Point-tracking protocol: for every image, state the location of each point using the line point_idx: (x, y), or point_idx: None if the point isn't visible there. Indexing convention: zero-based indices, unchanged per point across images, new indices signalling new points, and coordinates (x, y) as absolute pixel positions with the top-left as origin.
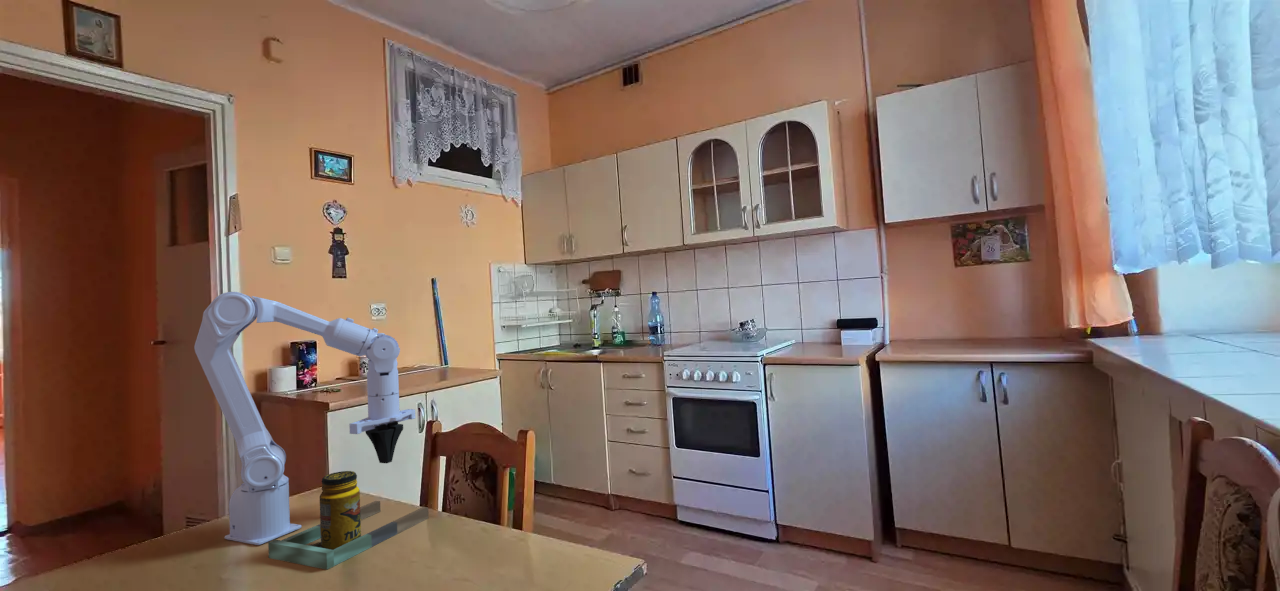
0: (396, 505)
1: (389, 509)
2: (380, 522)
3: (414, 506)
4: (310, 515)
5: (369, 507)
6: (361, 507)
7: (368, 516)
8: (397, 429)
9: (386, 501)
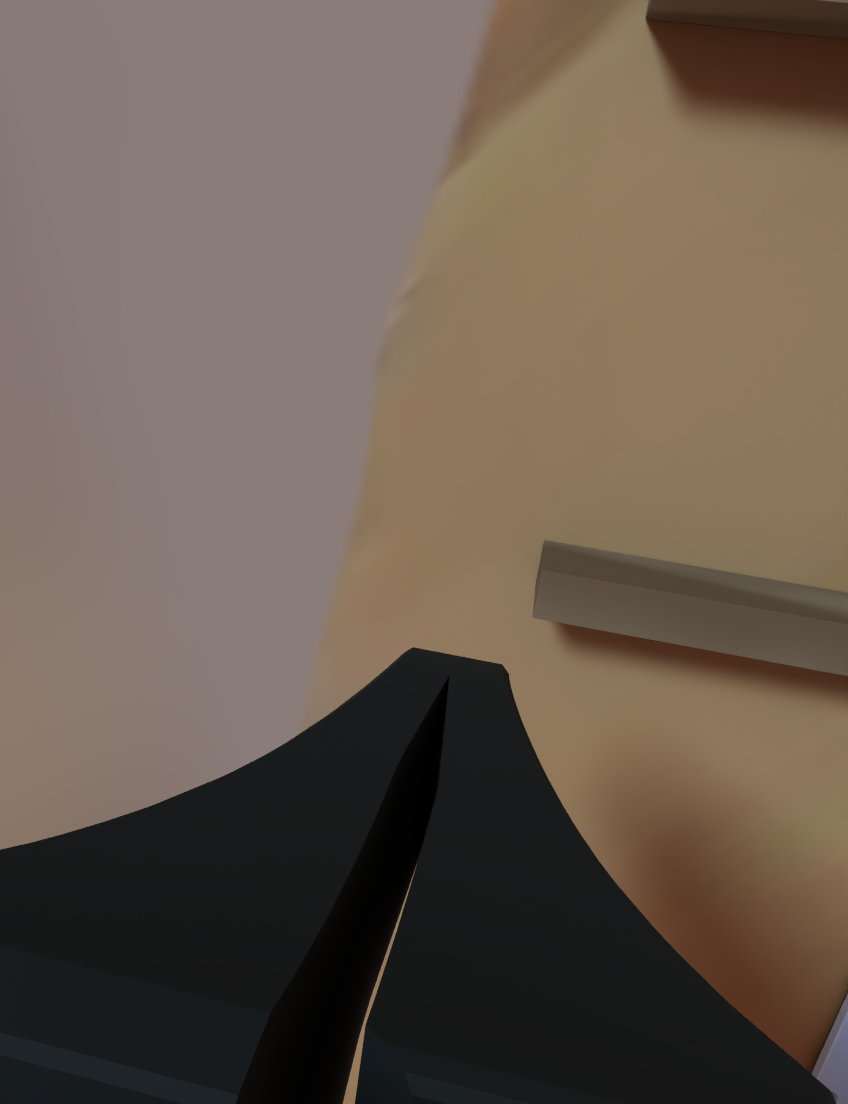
0: (404, 499)
1: (491, 498)
2: (775, 377)
3: (399, 324)
4: None
5: (656, 585)
6: (699, 633)
7: (661, 561)
8: (177, 965)
9: (342, 632)
